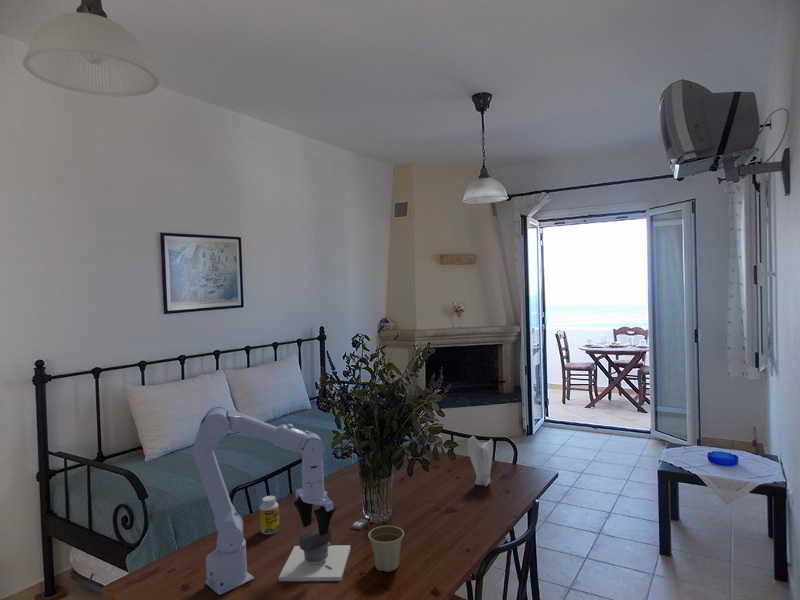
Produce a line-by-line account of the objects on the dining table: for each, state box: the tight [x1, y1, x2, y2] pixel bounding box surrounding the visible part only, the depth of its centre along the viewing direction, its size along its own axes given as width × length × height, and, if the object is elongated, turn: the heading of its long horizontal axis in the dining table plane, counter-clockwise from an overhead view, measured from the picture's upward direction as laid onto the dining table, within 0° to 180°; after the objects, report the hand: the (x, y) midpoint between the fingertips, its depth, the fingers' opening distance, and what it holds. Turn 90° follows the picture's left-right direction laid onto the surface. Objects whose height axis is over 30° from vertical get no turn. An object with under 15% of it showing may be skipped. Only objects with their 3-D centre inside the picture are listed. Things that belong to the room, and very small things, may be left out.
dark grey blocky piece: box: [299, 527, 332, 562], centre depth 138 cm, size 8×6×6 cm
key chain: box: [350, 518, 368, 531], centre depth 163 cm, size 13×4×2 cm, turn 154°
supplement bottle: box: [259, 495, 280, 535], centre depth 158 cm, size 6×6×10 cm
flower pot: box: [367, 525, 405, 573], centre depth 135 cm, size 9×9×9 cm
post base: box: [278, 544, 352, 582], centre depth 138 cm, size 16×16×2 cm
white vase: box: [467, 435, 494, 487], centre depth 189 cm, size 8×8×18 cm
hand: (315, 529), depth 137 cm, fingers open, 7 cm apart
